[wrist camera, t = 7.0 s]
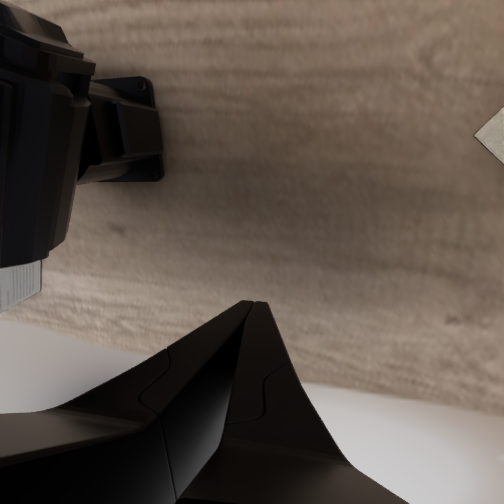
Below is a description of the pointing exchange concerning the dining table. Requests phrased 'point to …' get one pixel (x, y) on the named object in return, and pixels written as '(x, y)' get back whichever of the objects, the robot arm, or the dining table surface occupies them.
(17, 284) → the skincare box
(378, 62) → the dining table surface
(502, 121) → the condiment
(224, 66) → the dining table surface
